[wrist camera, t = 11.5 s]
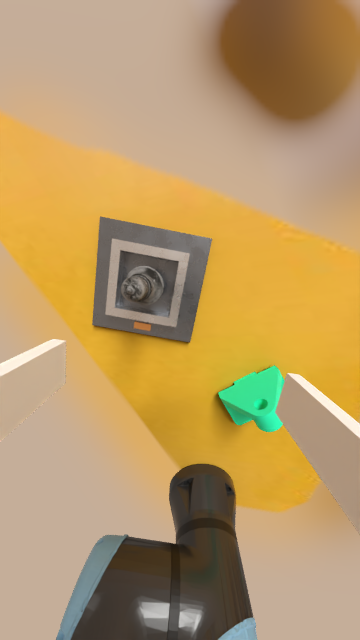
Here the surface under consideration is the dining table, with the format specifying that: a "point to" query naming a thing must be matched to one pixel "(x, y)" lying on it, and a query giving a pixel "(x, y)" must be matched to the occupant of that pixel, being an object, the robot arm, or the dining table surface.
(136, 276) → the gray metallic stepped cylinder
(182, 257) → the plate
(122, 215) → the dining table surface
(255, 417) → the camera mount
